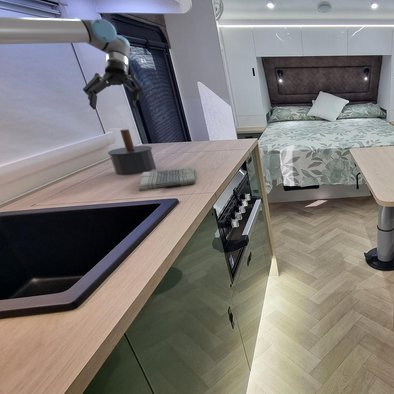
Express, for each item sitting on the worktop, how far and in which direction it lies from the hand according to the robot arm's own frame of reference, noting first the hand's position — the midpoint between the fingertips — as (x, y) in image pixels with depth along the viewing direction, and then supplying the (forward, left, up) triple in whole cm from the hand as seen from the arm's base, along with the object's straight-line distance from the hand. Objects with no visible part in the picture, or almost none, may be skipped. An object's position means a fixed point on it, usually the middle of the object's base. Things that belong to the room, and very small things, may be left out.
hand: (113, 106), depth 115 cm
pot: (+4, -4, -26) cm, 26 cm away
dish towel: (+24, -20, -26) cm, 41 cm away
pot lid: (+4, -4, -17) cm, 18 cm away
